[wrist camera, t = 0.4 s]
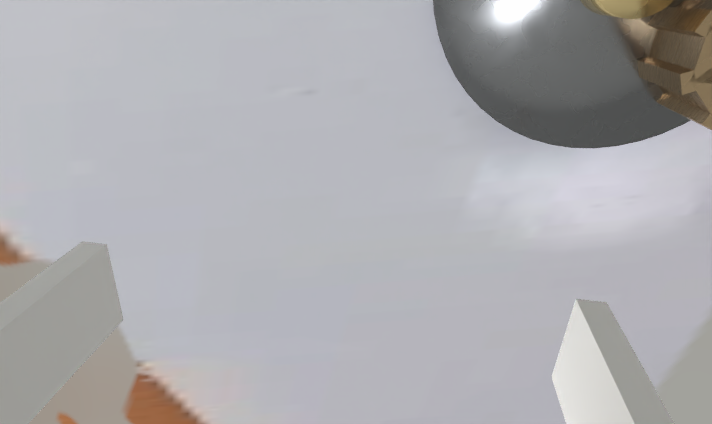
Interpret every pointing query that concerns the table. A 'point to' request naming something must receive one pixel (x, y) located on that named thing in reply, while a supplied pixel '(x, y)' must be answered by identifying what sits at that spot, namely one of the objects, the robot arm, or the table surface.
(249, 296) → the table surface
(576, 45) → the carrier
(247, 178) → the table surface
